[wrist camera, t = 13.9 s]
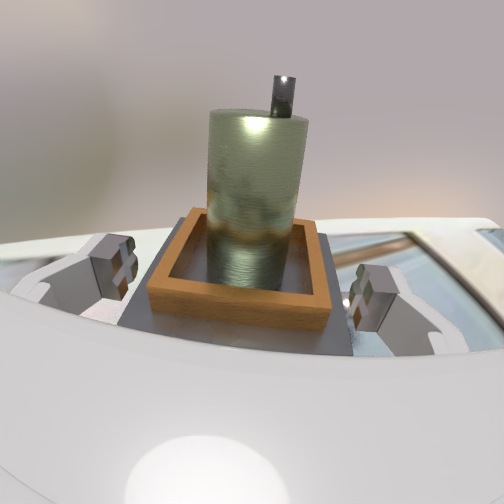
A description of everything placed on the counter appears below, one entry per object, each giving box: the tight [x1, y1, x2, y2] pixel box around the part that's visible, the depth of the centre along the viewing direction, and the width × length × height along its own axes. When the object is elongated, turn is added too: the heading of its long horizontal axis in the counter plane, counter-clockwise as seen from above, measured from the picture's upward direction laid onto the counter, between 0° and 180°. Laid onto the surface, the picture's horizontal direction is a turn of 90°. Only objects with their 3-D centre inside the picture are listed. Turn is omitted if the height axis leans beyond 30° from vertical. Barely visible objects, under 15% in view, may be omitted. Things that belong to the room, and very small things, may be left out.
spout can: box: [207, 76, 309, 291], centre depth 17 cm, size 6×6×13 cm
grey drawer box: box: [117, 208, 355, 356], centre depth 22 cm, size 17×14×8 cm
